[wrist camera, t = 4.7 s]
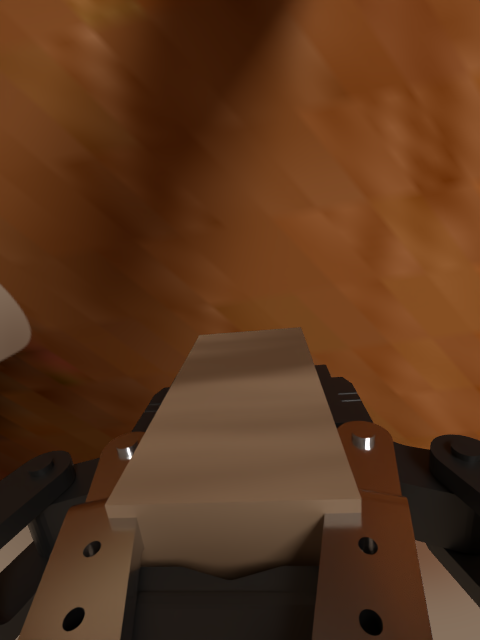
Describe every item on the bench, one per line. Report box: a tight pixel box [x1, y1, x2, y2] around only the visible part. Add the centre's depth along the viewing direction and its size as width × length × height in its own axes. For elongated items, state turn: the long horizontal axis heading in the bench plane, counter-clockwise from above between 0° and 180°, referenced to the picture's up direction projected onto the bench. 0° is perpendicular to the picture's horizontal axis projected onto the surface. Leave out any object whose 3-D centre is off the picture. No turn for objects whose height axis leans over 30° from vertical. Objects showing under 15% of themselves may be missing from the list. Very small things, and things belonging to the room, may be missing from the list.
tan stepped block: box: [105, 327, 361, 580], centre depth 10 cm, size 11×4×8 cm, turn 6°
